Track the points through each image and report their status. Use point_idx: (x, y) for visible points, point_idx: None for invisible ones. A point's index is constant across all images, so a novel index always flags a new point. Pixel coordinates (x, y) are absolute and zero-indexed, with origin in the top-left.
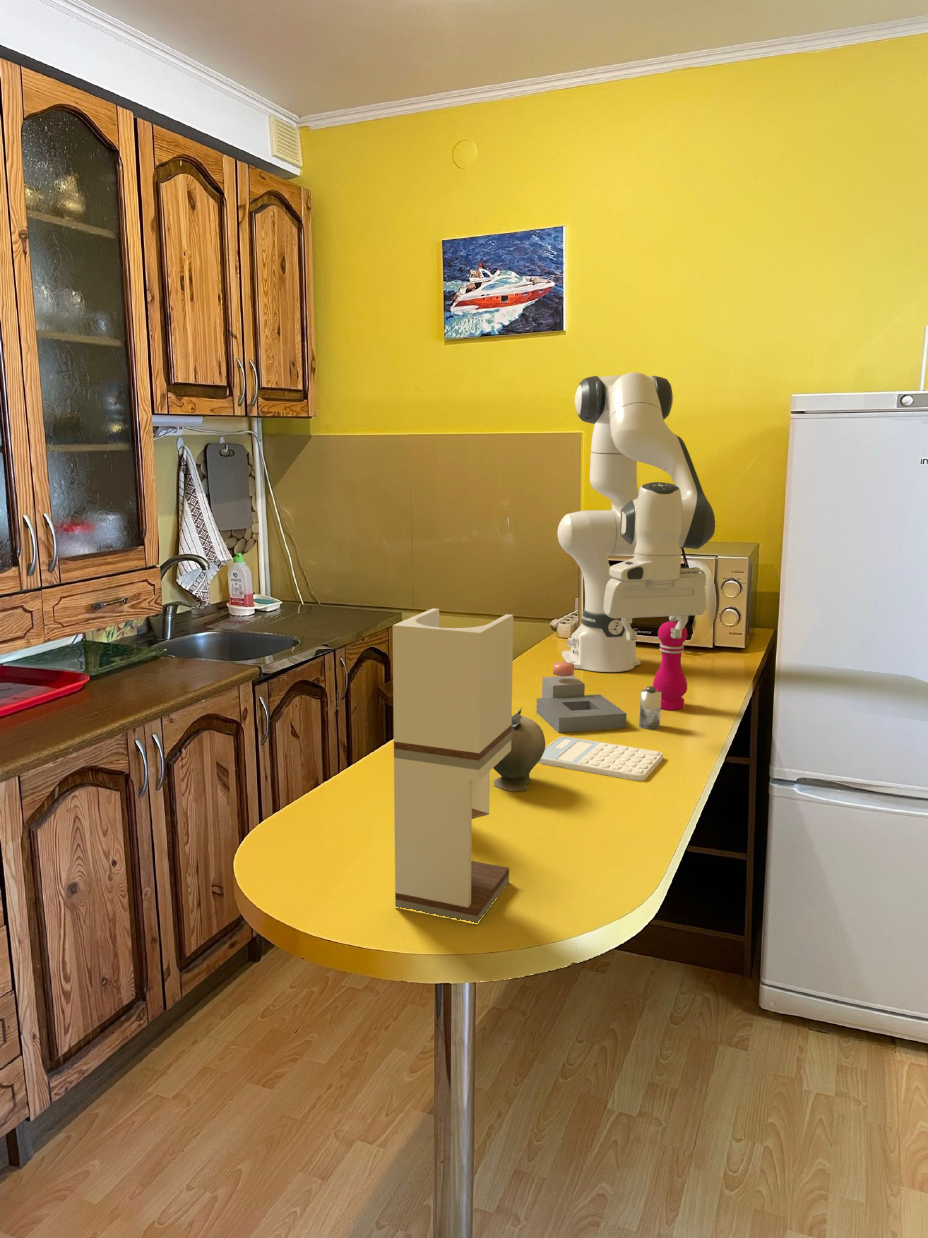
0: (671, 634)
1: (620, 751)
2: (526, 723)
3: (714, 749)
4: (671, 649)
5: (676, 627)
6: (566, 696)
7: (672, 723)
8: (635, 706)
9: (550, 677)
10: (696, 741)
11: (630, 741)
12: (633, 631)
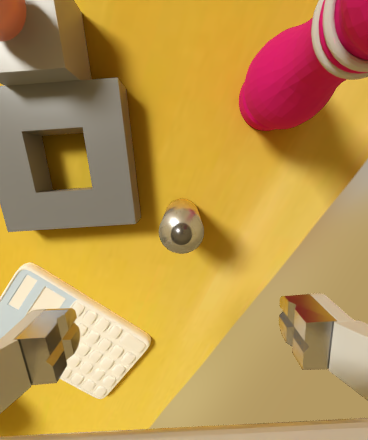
0: (286, 307)
1: (93, 340)
2: None
3: (232, 319)
4: (344, 65)
5: (339, 340)
6: (37, 83)
7: (226, 204)
8: (202, 88)
9: None
10: (223, 288)
11: (129, 275)
12: (36, 377)
